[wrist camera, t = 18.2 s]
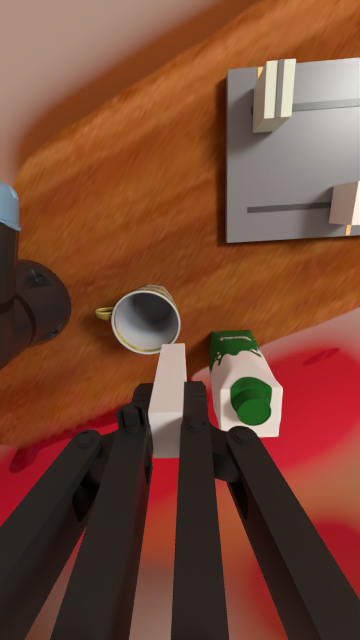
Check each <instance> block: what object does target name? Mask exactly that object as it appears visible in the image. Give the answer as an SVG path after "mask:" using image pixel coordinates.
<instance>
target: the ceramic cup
mask: <svg viewBox="0 0 360 640" xmlns="http://www.w3.org/2000/svg"><path fill="white" fill-rule="evenodd" d="M109 311H113V312H109ZM94 314H95V316H96V318H98V319H101V320H106V321H110V320H111V325H112V329H113V332H114V334H115V336H116V338H117V339H118V341H119V342H120V343H121V344H122V345H123V346H124V347H126V348H127V349H129V350H131V351H133V352H135V353H139V354H145V355H152V354H157V353H160V352H161V347H162V344H173V343H174V342H175V341H176V339H177V337H178V335H179V332H180V326H181V323H180V316H179V312H178V309H177V307H176V305H175V303H174V300H173V298H172V297H171V295H170V294H169V293H168V292H167V290H166V289H165V288H164V287H163V286H156V285H146V286H144V287H142V288H139V289H136V290H134V291H132V292H130V293H129V294H127V295H125V296H124V297H123V298H121V299H120V300H119V301H118V302H117V304H116V305H115V307H109V308H100V309H97V310H95V313H94Z"/></svg>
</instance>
